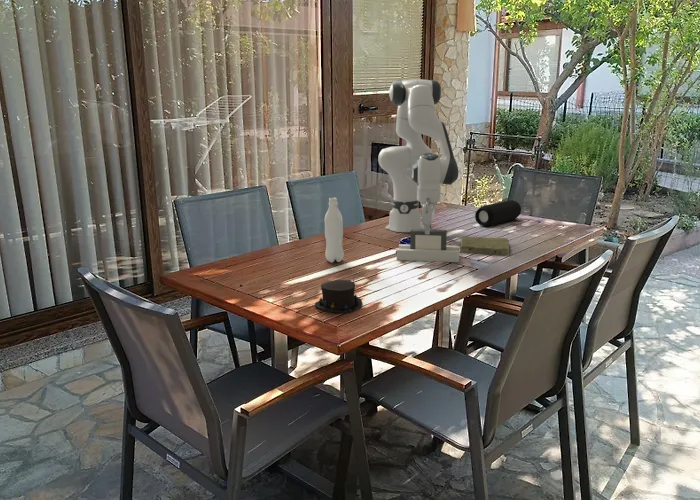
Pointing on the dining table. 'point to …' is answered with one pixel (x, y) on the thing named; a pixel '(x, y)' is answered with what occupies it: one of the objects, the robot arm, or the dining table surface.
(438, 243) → the picture frame
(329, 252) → the water bottle
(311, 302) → the dining table surface
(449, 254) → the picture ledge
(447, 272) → the dining table surface
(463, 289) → the dining table surface
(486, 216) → the portable speaker
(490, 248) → the decorative tile
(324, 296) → the top hat
